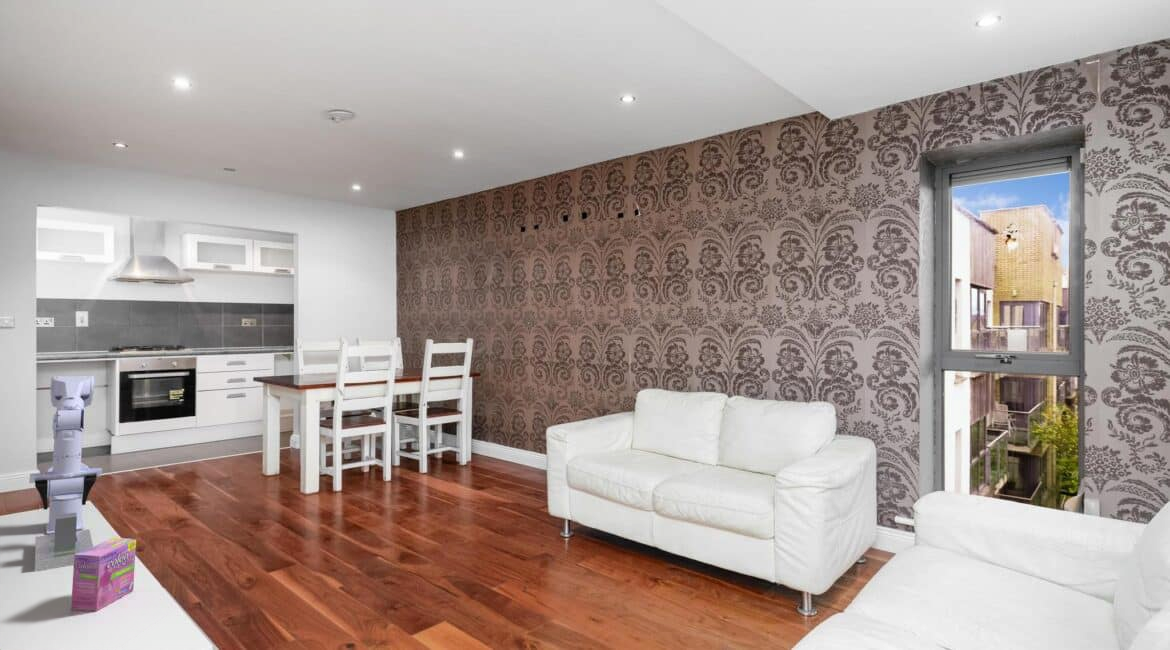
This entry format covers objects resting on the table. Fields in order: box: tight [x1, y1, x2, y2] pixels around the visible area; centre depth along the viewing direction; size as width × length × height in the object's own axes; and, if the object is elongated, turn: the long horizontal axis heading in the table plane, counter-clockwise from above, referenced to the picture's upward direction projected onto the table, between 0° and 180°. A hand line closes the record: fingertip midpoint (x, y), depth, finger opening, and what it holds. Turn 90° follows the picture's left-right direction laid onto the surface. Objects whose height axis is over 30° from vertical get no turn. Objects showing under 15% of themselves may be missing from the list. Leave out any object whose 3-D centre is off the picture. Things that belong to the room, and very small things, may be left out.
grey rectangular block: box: [54, 513, 77, 552], centre depth 154 cm, size 4×4×8 cm
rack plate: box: [34, 528, 94, 572], centre depth 157 cm, size 20×11×3 cm, turn 42°
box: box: [70, 537, 137, 612], centre depth 133 cm, size 10×6×12 cm, turn 179°
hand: (64, 506), depth 162 cm, fingers open, 7 cm apart
